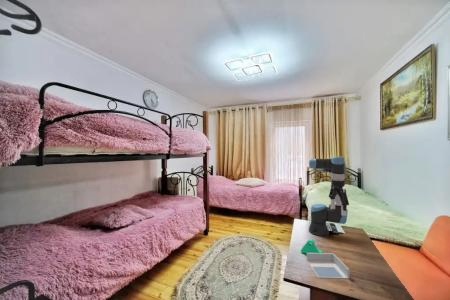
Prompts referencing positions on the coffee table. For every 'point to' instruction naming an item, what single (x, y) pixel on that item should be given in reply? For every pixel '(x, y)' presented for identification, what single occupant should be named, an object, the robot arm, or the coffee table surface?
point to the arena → (328, 265)
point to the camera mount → (310, 247)
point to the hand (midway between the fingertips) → (338, 211)
